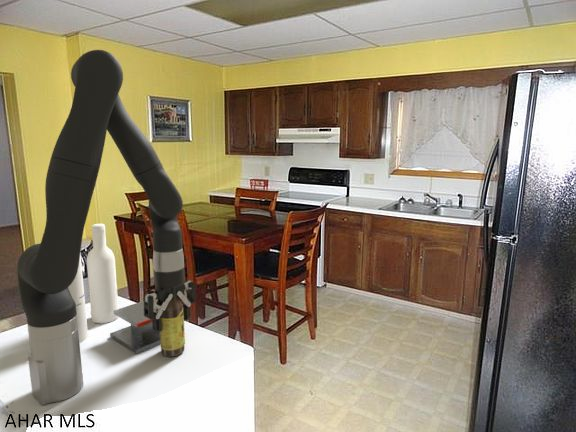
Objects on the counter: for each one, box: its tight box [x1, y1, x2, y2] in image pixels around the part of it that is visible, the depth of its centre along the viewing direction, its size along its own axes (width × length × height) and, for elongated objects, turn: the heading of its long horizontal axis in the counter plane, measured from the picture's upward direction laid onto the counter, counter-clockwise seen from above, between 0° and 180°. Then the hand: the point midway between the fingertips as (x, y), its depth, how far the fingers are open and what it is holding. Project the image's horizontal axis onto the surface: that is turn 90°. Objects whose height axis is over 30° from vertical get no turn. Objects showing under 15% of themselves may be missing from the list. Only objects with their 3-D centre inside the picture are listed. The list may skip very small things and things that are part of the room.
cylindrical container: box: [68, 251, 89, 343], centre depth 109 cm, size 7×7×25 cm
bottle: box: [86, 223, 120, 324], centre depth 122 cm, size 8×8×30 cm
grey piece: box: [109, 299, 160, 355], centre depth 113 cm, size 14×14×8 cm
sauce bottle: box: [159, 287, 186, 358], centre depth 104 cm, size 6×6×20 cm
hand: (172, 325), depth 104 cm, fingers open, 8 cm apart
